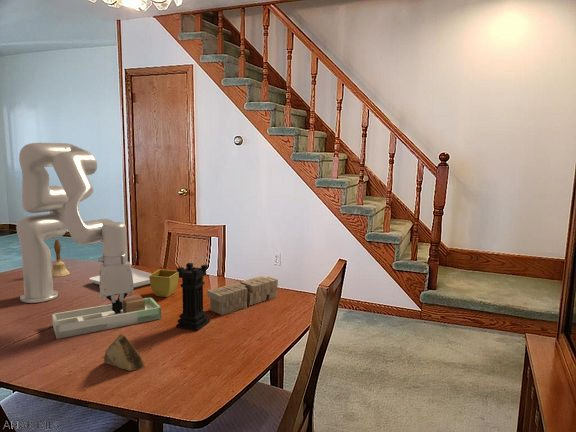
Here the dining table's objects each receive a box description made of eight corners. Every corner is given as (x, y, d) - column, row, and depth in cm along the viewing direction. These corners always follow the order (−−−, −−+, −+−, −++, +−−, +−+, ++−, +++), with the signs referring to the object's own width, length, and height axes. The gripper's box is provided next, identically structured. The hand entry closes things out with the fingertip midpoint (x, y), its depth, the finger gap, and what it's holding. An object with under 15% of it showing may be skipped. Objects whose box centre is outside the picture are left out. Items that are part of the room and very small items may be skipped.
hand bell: (55, 278, 192) (53, 242, 190) (45, 275, 197) (43, 240, 194) (73, 274, 199) (71, 239, 196) (63, 270, 203) (61, 237, 201)
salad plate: (131, 274, 202) (131, 266, 202) (161, 283, 190) (161, 275, 189) (87, 285, 185) (87, 277, 185) (117, 296, 173) (117, 288, 172)
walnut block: (122, 310, 153) (122, 297, 152) (140, 307, 156) (139, 295, 155) (127, 316, 148) (126, 303, 147) (145, 312, 151) (144, 300, 150)
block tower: (264, 295, 181) (205, 311, 160) (264, 275, 180) (206, 288, 159) (277, 299, 176) (219, 317, 154) (278, 279, 174) (219, 293, 153)
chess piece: (209, 322, 149) (209, 264, 146) (197, 331, 142) (196, 271, 139) (189, 318, 152) (188, 262, 149) (176, 327, 145) (175, 268, 141)
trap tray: (52, 325, 144) (51, 313, 143) (151, 307, 161) (151, 297, 160) (56, 339, 134) (56, 326, 133) (161, 318, 151) (161, 307, 151)
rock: (91, 356, 119) (103, 366, 111) (109, 327, 122) (121, 334, 114) (125, 370, 125) (139, 380, 117) (141, 341, 128) (155, 350, 120)
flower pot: (169, 299, 170) (169, 277, 168) (149, 297, 171) (148, 275, 170) (179, 292, 178) (179, 270, 177) (159, 290, 180) (159, 269, 178)
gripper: (92, 265, 138) (95, 320, 141) (141, 259, 146) (142, 312, 149) (88, 259, 145) (91, 312, 148) (135, 254, 153) (137, 305, 156)
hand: (117, 312), depth 148 cm, fingers closed
